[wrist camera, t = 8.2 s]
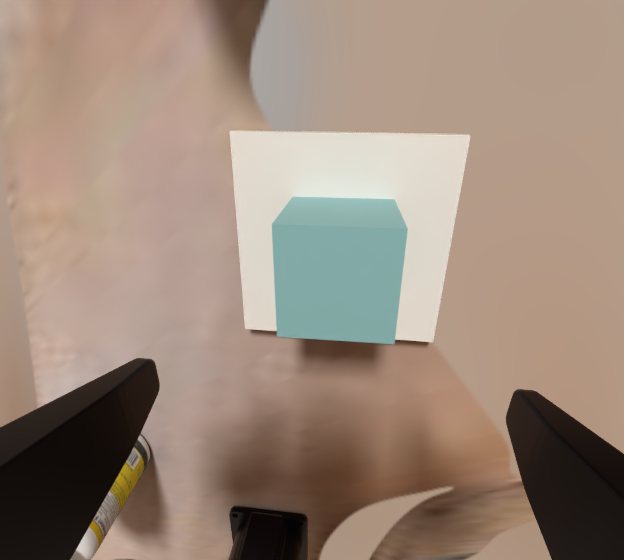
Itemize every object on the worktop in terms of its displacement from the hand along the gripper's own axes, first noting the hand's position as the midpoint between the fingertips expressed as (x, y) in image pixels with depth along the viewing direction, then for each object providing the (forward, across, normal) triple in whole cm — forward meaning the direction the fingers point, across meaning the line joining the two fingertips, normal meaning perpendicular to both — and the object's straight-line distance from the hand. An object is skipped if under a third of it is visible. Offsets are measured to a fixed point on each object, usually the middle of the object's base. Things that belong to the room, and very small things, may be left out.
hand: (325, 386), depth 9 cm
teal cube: (+11, 0, 0) cm, 11 cm away
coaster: (+12, 0, 0) cm, 12 cm away
